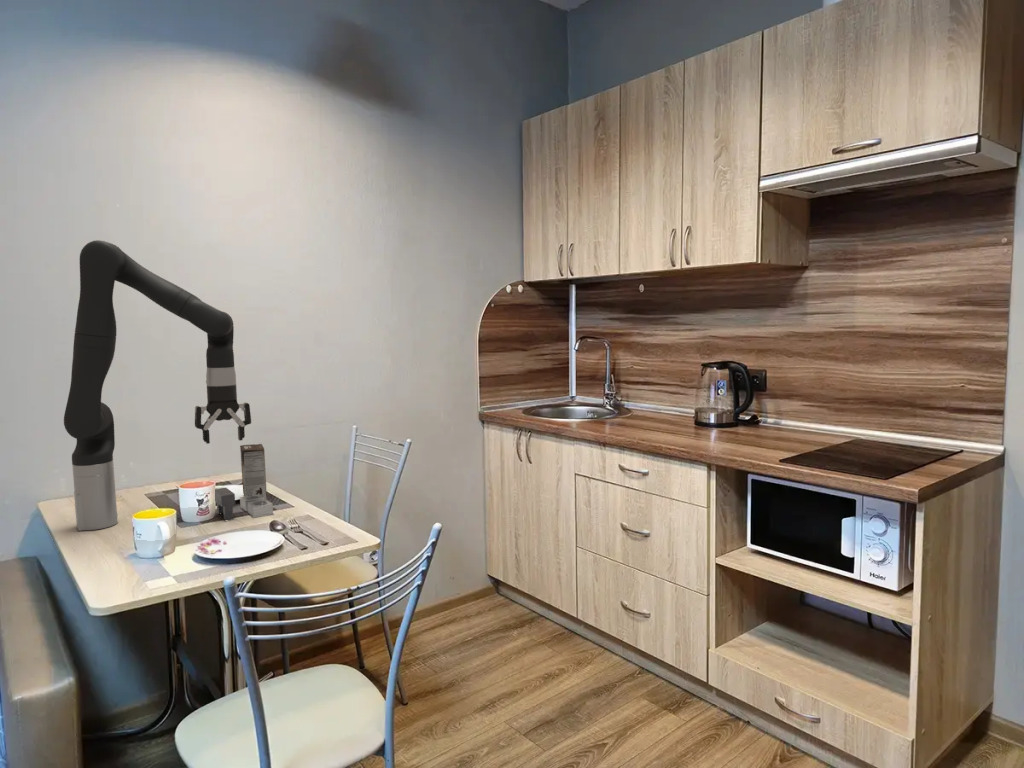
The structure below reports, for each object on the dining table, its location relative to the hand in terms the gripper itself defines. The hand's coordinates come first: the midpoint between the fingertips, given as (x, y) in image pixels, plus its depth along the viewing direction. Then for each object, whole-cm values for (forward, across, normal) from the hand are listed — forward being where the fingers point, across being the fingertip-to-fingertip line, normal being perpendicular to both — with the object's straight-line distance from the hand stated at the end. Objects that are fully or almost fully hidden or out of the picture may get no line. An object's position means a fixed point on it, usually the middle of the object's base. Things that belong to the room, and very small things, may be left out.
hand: (224, 441), depth 187 cm
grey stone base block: (+20, +7, -2) cm, 22 cm away
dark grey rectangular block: (+21, -1, -2) cm, 21 cm away
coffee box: (+21, +10, +12) cm, 26 cm away
